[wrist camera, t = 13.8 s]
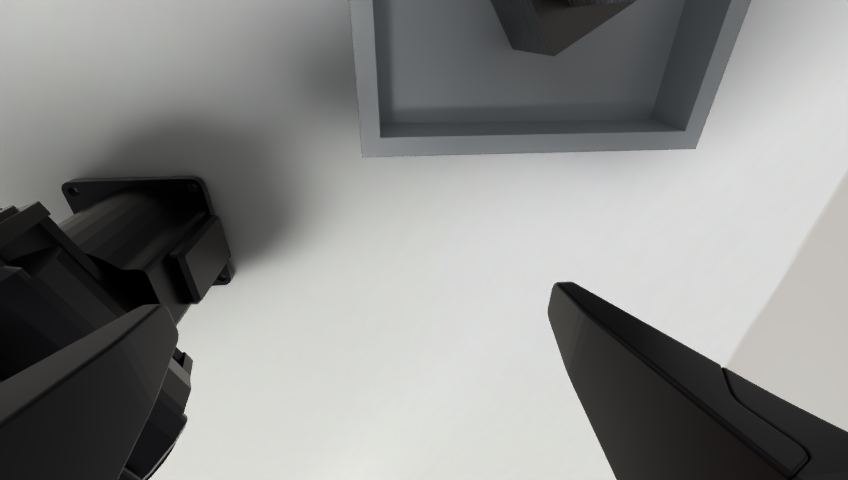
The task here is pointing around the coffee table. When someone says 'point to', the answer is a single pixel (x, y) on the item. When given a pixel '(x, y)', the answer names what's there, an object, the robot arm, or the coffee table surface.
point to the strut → (552, 21)
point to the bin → (536, 79)
